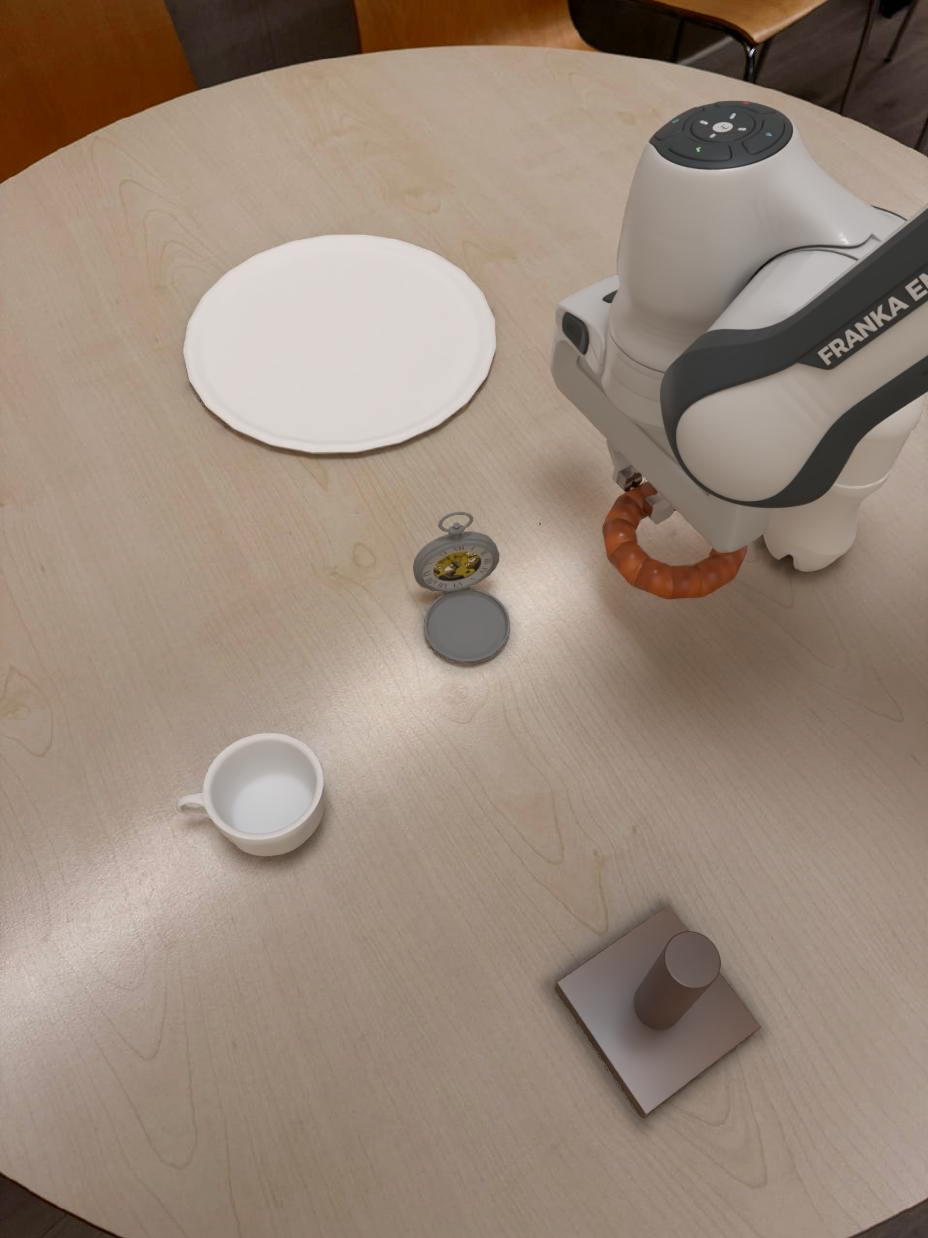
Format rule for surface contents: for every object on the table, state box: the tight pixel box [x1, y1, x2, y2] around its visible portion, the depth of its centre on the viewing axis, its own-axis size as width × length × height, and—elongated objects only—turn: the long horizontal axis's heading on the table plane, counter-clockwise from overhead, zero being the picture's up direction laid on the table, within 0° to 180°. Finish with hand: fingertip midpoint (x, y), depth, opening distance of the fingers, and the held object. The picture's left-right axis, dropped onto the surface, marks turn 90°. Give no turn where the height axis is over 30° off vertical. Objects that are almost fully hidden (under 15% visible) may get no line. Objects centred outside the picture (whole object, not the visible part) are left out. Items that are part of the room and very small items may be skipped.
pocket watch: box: [412, 511, 511, 665], centre depth 76 cm, size 8×8×10 cm
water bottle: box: [762, 393, 926, 572], centre depth 74 cm, size 7×7×25 cm
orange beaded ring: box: [601, 480, 749, 600], centre depth 76 cm, size 10×10×2 cm
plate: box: [182, 233, 497, 455], centre depth 96 cm, size 29×29×1 cm
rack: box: [554, 904, 762, 1119], centre depth 59 cm, size 9×9×12 cm
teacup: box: [175, 732, 325, 857], centre depth 69 cm, size 10×8×5 cm
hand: (641, 498), depth 77 cm, fingers closed on orange beaded ring, 2 cm apart
